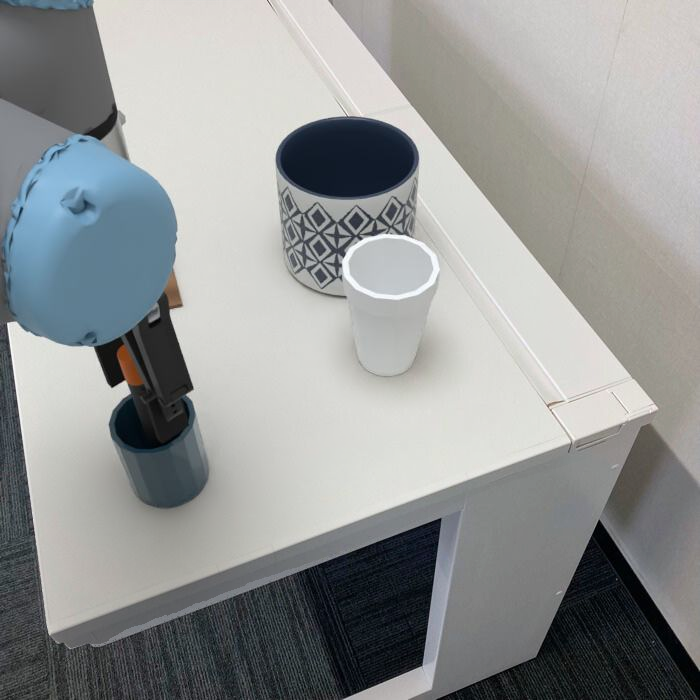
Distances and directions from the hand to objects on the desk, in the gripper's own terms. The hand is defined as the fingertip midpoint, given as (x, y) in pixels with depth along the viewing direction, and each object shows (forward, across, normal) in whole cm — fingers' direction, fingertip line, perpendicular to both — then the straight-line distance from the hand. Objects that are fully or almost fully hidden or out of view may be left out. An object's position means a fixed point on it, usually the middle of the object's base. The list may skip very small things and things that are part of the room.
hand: (147, 403), depth 66 cm
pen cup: (+11, 0, 0) cm, 11 cm away
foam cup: (+11, -3, -26) cm, 29 cm away
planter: (+11, +12, -34) cm, 38 cm away
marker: (+10, 0, 0) cm, 10 cm away
